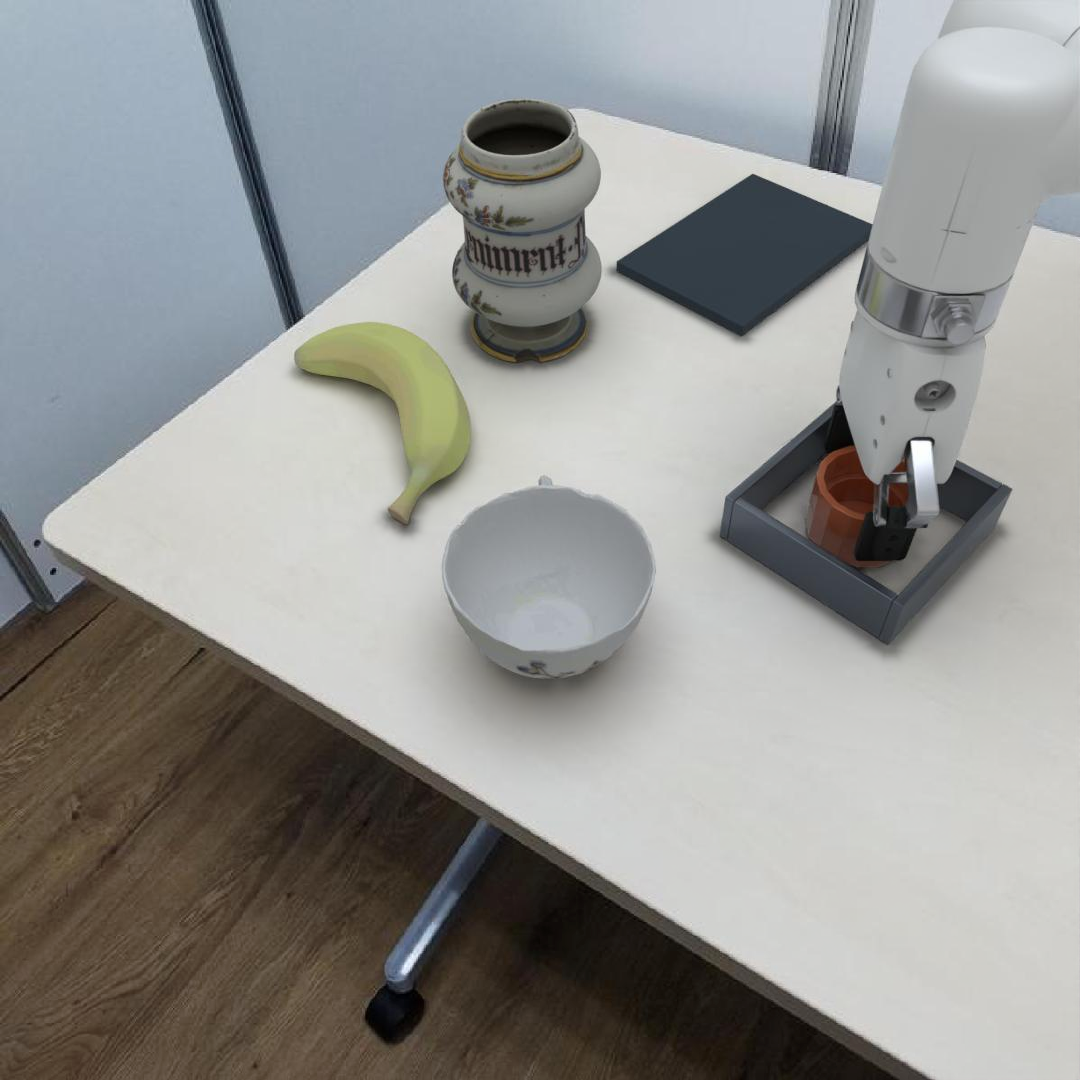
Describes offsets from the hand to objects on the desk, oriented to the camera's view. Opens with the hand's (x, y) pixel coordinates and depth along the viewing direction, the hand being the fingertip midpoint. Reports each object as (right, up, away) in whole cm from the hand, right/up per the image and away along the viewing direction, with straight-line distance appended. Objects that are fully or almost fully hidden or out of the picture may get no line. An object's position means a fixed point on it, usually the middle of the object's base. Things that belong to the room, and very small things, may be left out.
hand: (861, 501), depth 67 cm
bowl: (0, -2, +3) cm, 3 cm away
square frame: (0, -2, +3) cm, 3 cm away
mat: (-3, +24, +25) cm, 34 cm away
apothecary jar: (-22, +15, +19) cm, 33 cm away
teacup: (-21, -8, -1) cm, 22 cm away
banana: (-34, +5, +11) cm, 36 cm away
